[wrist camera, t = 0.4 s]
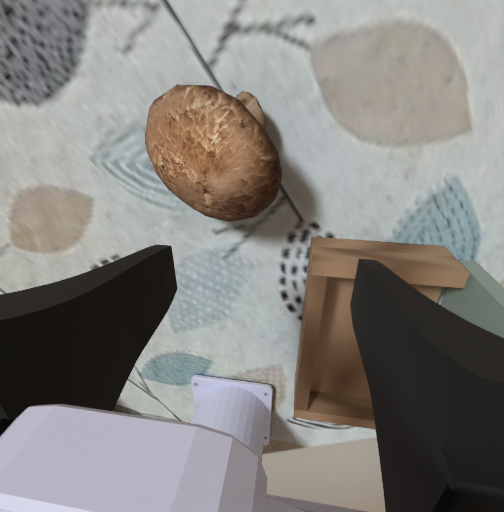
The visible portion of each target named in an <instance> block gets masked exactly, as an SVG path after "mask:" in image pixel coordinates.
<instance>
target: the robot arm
mask: <svg viewBox="0 0 504 512" xmlns="http://www.w3.org/2000/svg"><path fill="white" fill-rule="evenodd" d="M176 291H177V283H176V276H175V269H174V262H173V254H172V247H171V246H167V245H154V246H151V247H148V248H145V249H143V250H140V251H138V252H135V253H133V254H131V255H128V256H126V257H123V258H121V259H119V260H116V261H114V262H112V263H109V264H107V265H104V266H101V267H99V268H96V269H94V270H91V271H89V272H86V273H83V274H80V275H77V276H74V277H71V278H68V279H65V280H61V281H58V282H54V283H51V284H47V285H43V286H39V287H34V288H30V289H26V290H22V291H18V292H13V293H7V294H2V295H0V512H366V511H359V510H354V509H348V508H342V507H337V506H331V505H326V504H320V503H314V502H309V501H302V500H297V499H291V498H286V497H280V496H274V495H269V494H266V486H267V476H266V474H265V472H264V469H263V467H262V464H261V462H262V453H263V446H267V445H269V439H270V423H271V408H272V393H273V388H272V386H271V385H268V384H261V383H254V382H246V381H239V380H231V379H224V378H217V377H209V376H202V375H193V376H192V379H191V382H192V390H193V398H194V406H195V409H194V412H193V415H192V418H191V421H190V423H187V422H180V421H174V420H167V419H160V418H153V417H147V416H140V415H133V414H127V413H120V412H113V410H114V407H115V405H116V403H117V401H118V399H119V396H120V394H121V392H122V390H123V387H124V385H125V383H126V381H127V379H128V377H129V375H130V373H131V371H132V369H133V367H134V365H135V363H136V361H137V359H138V358H139V356H140V354H141V352H142V351H143V349H144V348H145V346H146V345H147V343H148V341H149V340H150V338H151V337H152V335H153V333H154V332H155V330H156V329H157V327H158V326H159V324H160V322H161V321H162V319H163V318H164V316H165V314H166V313H167V311H168V309H169V307H170V305H171V303H172V301H173V298H174V296H175V293H176ZM350 307H351V316H352V324H353V329H354V333H355V337H356V341H357V344H358V348H359V352H360V355H361V359H362V363H363V366H364V370H365V374H366V377H367V381H368V385H369V390H370V395H371V401H372V408H373V414H374V420H375V427H376V434H377V442H378V448H379V456H380V465H381V472H382V481H383V489H384V499H385V509H386V512H504V338H502V337H500V336H498V335H496V334H493V333H491V332H489V331H487V330H485V329H483V328H481V327H479V326H477V325H475V324H473V323H471V322H469V321H467V320H465V319H463V318H462V317H460V316H458V315H456V314H454V313H453V312H451V311H449V310H447V309H446V308H444V307H442V306H441V305H439V304H437V303H436V302H434V301H433V300H431V299H430V298H428V297H427V296H425V295H424V294H422V293H421V292H419V291H418V290H417V289H415V288H414V287H412V286H411V285H410V284H408V283H407V282H406V281H404V280H403V279H402V278H400V277H399V276H398V275H396V274H395V273H394V272H393V271H391V270H390V269H389V268H387V267H386V266H385V265H383V264H382V263H380V262H379V261H377V260H370V259H359V261H358V266H357V271H356V276H355V282H354V287H353V292H352V297H351V302H350Z"/></svg>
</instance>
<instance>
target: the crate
mask: <svg viewBox="0 0 504 512" xmlns="http://www.w3.org/2000/svg"><path fill="white" fill-rule="evenodd" d="M359 259H370V260H377V261H379V262H380V263H382V264H383V265H385V266H386V267H387V268H389V269H390V270H391V271H393V272H394V273H395V274H396V275H398V276H399V277H400V278H402V279H403V280H404V281H406V282H407V283H408V284H410V285H411V286H412V287H414V288H415V289H417V290H418V291H419V292H421V293H422V294H424V295H425V296H427V297H428V298H430V299H431V300H433V301H434V302H436V303H437V301H438V298H439V296H440V293H441V291H442V288H443V287H455V288H464V287H465V284H466V282H467V280H468V277H469V275H470V273H469V272H468V271H467V270H466V269H465V268H464V267H463V266H462V264H461V263H460V262H459V261H458V260H457V259H456V258H455V257H454V256H453V255H452V254H451V253H450V252H449V251H448V250H447V249H446V248H445V246H434V245H420V244H406V243H392V242H378V241H363V240H349V239H335V238H321V237H311V245H310V254H309V262H308V271H307V280H306V288H305V297H304V306H303V314H302V323H301V332H300V340H299V349H298V358H297V366H296V375H295V388H294V417H296V418H303V419H309V420H316V421H323V422H330V423H337V424H343V425H350V426H357V427H364V428H371V429H376V427H375V420H374V414H373V408H372V401H371V395H370V390H369V385H368V381H367V377H366V374H365V370H364V366H363V363H362V359H361V355H360V352H359V348H358V344H357V341H356V337H355V333H354V329H353V324H352V316H351V307H350V302H351V297H352V292H353V287H354V282H355V276H356V271H357V266H358V261H359Z"/></svg>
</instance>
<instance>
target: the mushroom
mask: <svg viewBox="0 0 504 512" xmlns="http://www.w3.org/2000/svg"><path fill="white" fill-rule="evenodd" d="M145 144H146V149H147V153H148V155H149V158H150V160H151V162H152V165H153V167H154V169H155V172H156V174H157V175H158V176H159V178H160V179H161V180H162V182H163V183H164V184H165V185H166V187H167V188H168V189H169V190H170V191H171V192H172V193H173V194H175V195H176V196H177V197H178V198H179V199H181V200H182V201H183V202H184V203H186V204H187V205H189V206H190V207H192V208H193V209H195V210H196V211H198V212H200V213H202V214H203V215H205V216H208V217H212V218H216V219H220V220H225V221H236V220H242V219H247V218H253V217H255V216H257V215H259V214H260V213H261V212H262V211H263V210H264V209H265V208H267V207H268V206H269V205H270V204H271V203H272V202H273V201H274V200H275V198H276V196H277V194H278V190H279V186H280V183H281V179H282V171H281V166H280V161H279V157H278V152H277V150H276V148H275V147H274V145H273V143H272V142H271V140H270V138H269V136H268V135H267V133H266V131H265V118H264V115H263V111H262V108H261V106H260V104H259V102H258V100H257V98H256V97H254V96H253V95H252V94H250V93H248V92H244V91H242V92H241V93H240V94H238V95H237V96H236V98H235V97H233V96H231V95H229V94H227V93H225V92H223V91H221V90H219V89H216V88H214V87H212V86H206V85H176V86H175V87H173V88H172V89H170V90H169V91H167V92H166V93H164V94H163V95H162V96H160V97H159V98H157V99H156V100H154V102H153V103H152V105H151V107H150V108H149V113H148V119H147V126H146V133H145Z"/></svg>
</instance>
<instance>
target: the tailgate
mask: <svg viewBox="0 0 504 512" xmlns="http://www.w3.org/2000/svg"><path fill="white" fill-rule="evenodd" d="M458 261H459V262H460V263H461V264H462V266H463V267H464V268H465V269H466V270H467V271H468V272H469V273H470V275H469V277H468V280H467V282H466V284H465V287H464V288H455V287H448V288H447V291H446V293H445V296H444V298H443V301H442V304H441V306H442V307H444V308H446V309H447V310H449V311H451V312H453V313H454V314H456V315H458V316H460V317H462V318H463V319H465V320H467V321H469V322H471V323H473V324H475V325H477V326H479V327H481V328H483V329H485V330H487V331H489V332H491V333H493V334H496V335H498V336H500V337H502V338H504V288H503V287H502V286H501V285H500V284H499V283H498V282H497V281H496V280H495V279H494V278H493V277H492V276H491V275H490V274H489V273H487V272H486V271H485V270H484V269H483V268H482V267H481V266H480V265H479V264H478V263H477V262H476V261H465V260H458Z"/></svg>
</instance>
